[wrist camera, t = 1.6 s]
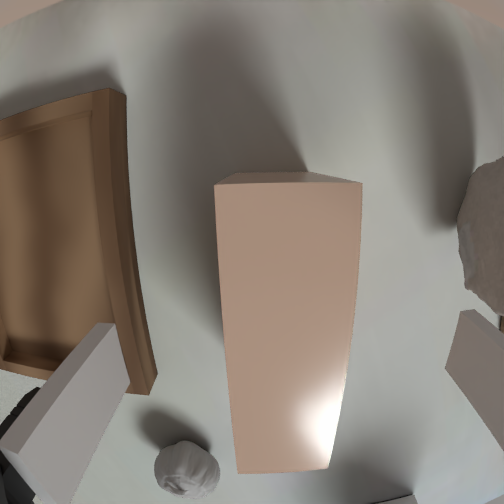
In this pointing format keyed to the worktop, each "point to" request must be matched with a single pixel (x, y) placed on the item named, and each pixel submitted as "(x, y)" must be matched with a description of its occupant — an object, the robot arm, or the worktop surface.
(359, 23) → the worktop surface
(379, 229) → the worktop surface
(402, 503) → the milk carton
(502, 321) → the candle holder
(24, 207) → the tray
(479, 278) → the stone tool
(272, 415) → the tan rectangular block
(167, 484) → the garlic
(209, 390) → the worktop surface
